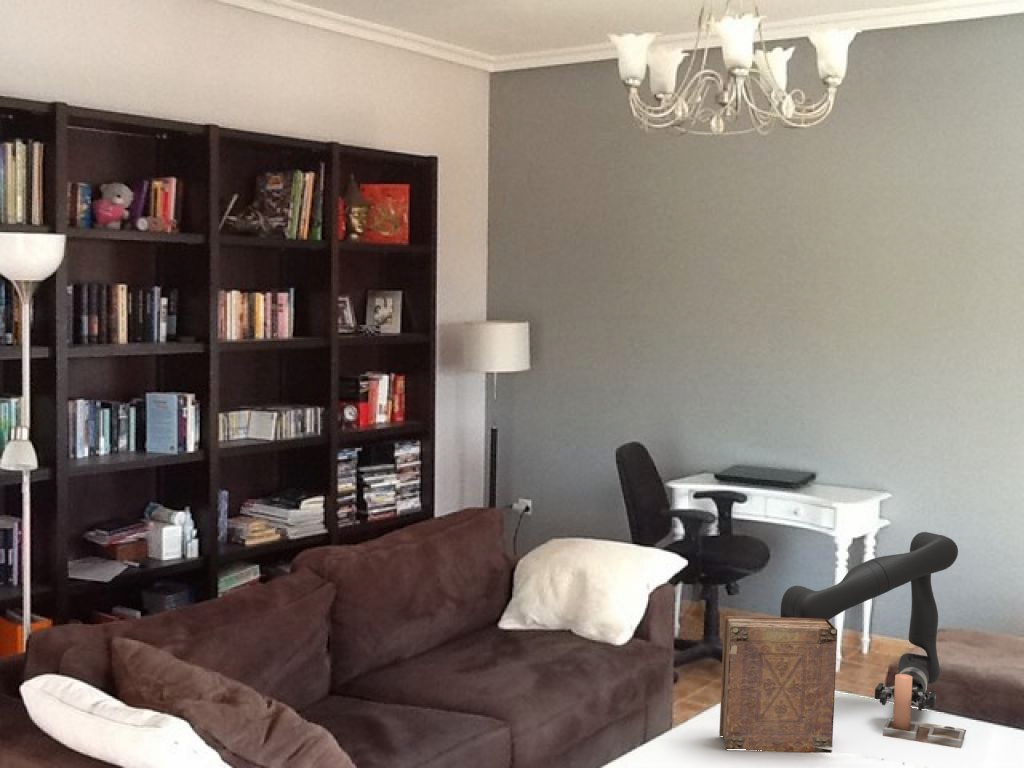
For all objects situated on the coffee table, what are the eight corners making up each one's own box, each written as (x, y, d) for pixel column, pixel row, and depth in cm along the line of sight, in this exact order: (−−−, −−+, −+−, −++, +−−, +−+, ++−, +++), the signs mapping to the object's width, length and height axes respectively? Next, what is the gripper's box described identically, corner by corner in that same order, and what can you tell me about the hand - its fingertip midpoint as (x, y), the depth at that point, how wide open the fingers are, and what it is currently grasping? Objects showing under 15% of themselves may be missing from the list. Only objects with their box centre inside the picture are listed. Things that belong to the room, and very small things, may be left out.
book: (724, 750, 300) (729, 626, 298) (719, 736, 310) (723, 615, 307) (832, 753, 300) (837, 628, 298) (823, 739, 309) (828, 618, 307)
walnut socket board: (882, 741, 308) (882, 729, 308) (890, 724, 321) (891, 712, 321) (960, 754, 301) (960, 741, 301) (966, 735, 314) (966, 723, 313)
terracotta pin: (891, 733, 310) (894, 677, 309) (894, 728, 313) (896, 673, 312) (908, 736, 308) (911, 679, 307) (910, 731, 312) (913, 675, 311)
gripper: (882, 666, 326) (872, 684, 311) (940, 675, 320) (932, 693, 305) (881, 695, 326) (870, 714, 312) (939, 704, 320) (931, 723, 306)
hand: (901, 703), depth 308 cm, fingers open, 8 cm apart
